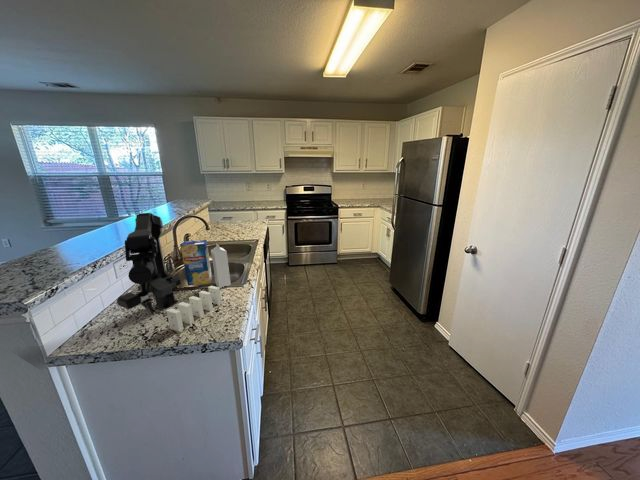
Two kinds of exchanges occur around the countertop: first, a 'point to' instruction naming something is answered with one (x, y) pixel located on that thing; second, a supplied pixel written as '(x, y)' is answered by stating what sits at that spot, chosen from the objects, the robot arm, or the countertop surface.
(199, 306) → the domino
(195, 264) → the blue cardboard box
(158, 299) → the robot arm
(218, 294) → the domino
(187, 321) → the domino
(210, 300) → the domino
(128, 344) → the countertop surface
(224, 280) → the milk
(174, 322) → the domino
